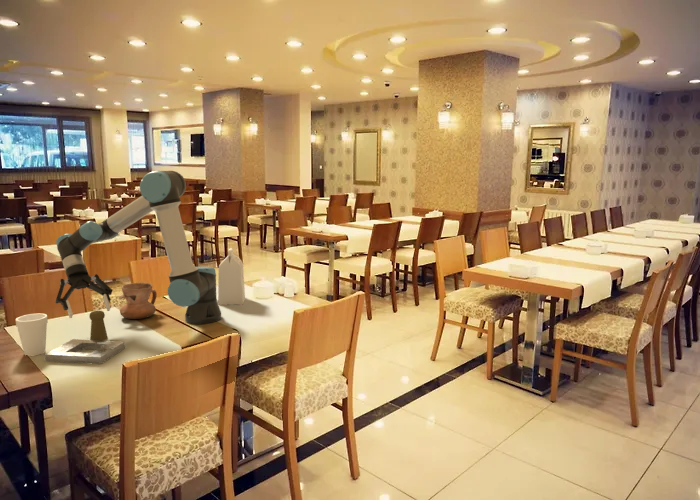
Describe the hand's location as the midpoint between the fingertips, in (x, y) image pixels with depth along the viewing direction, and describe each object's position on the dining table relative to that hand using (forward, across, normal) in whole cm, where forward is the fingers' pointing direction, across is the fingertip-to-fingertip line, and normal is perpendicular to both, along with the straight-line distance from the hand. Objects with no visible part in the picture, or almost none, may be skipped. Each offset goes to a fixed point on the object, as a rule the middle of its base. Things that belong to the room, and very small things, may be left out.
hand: (90, 312), depth 193 cm
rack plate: (+20, +8, +7) cm, 22 cm away
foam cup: (+10, +20, -4) cm, 23 cm away
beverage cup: (-11, -59, -25) cm, 65 cm away
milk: (+2, -66, -12) cm, 68 cm away
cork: (+10, -1, -3) cm, 11 cm away
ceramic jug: (-2, -24, -16) cm, 29 cm away
